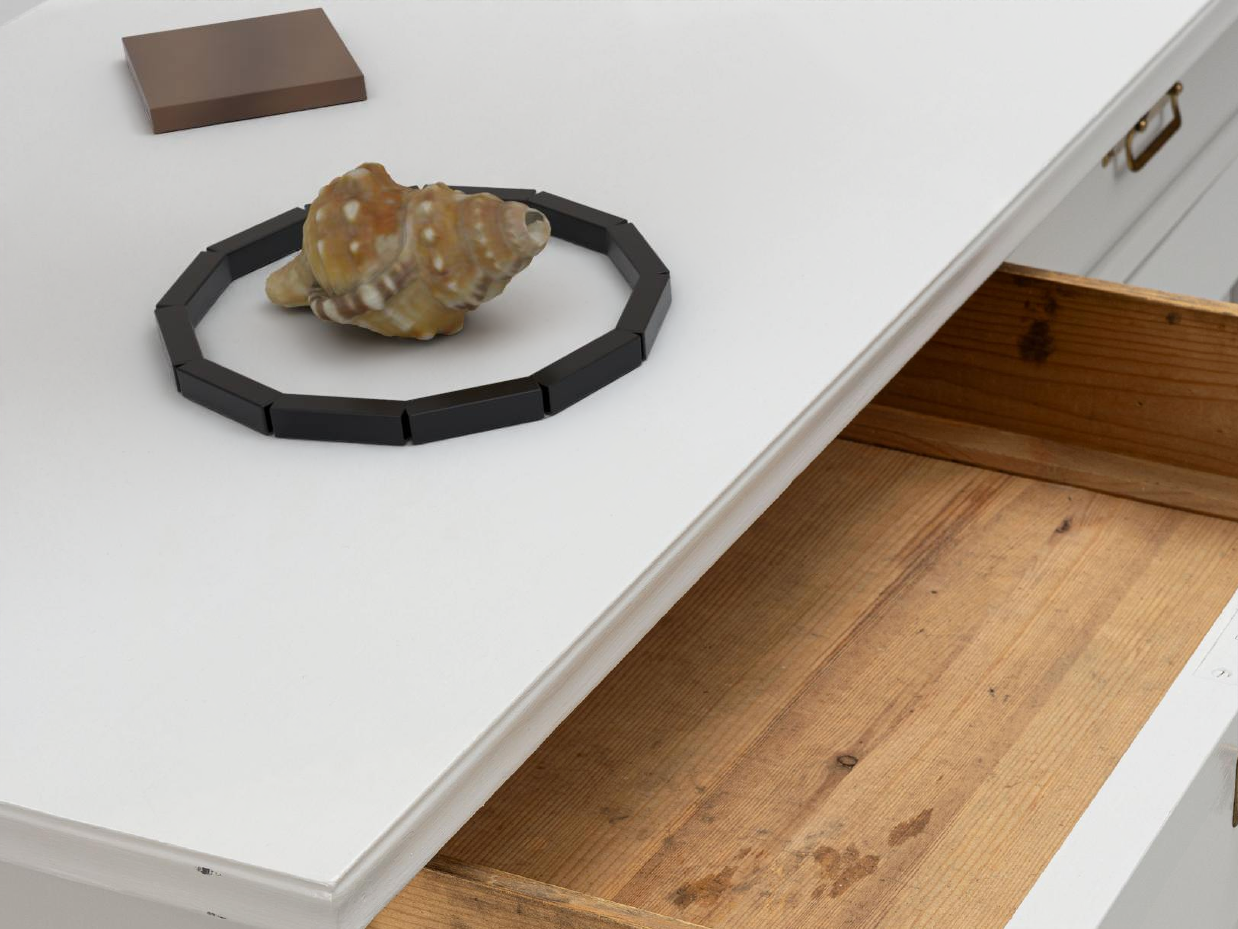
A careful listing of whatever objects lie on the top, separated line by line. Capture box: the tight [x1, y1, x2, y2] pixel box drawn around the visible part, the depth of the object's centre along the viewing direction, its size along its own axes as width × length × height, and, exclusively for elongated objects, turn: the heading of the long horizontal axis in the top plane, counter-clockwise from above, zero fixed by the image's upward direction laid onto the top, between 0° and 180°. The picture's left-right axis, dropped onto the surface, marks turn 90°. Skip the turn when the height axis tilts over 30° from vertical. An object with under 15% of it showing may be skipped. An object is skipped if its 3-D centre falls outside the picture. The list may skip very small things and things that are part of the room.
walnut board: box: [121, 7, 368, 134], centre depth 106 cm, size 10×10×1 cm
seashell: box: [264, 161, 551, 341], centre depth 84 cm, size 9×8×10 cm
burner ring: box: [153, 184, 673, 446], centre depth 86 cm, size 19×19×1 cm
